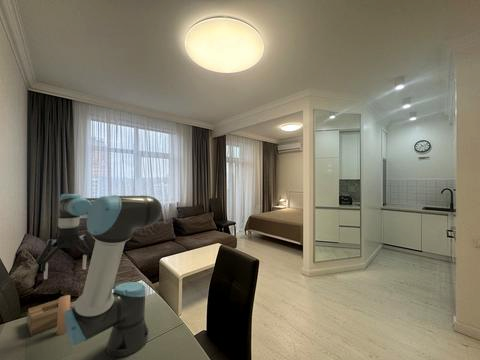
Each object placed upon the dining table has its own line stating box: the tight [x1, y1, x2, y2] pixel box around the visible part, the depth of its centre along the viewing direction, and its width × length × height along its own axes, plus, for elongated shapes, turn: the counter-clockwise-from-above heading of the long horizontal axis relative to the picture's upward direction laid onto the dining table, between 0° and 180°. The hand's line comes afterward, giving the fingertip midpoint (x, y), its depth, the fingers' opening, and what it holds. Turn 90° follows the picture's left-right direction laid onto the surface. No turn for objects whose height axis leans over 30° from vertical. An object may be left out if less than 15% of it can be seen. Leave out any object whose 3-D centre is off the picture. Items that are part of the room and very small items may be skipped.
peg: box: [56, 294, 71, 336], centre depth 89 cm, size 4×4×15 cm
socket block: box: [26, 298, 74, 338], centre depth 95 cm, size 14×14×7 cm
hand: (65, 273), depth 90 cm, fingers open, 13 cm apart
